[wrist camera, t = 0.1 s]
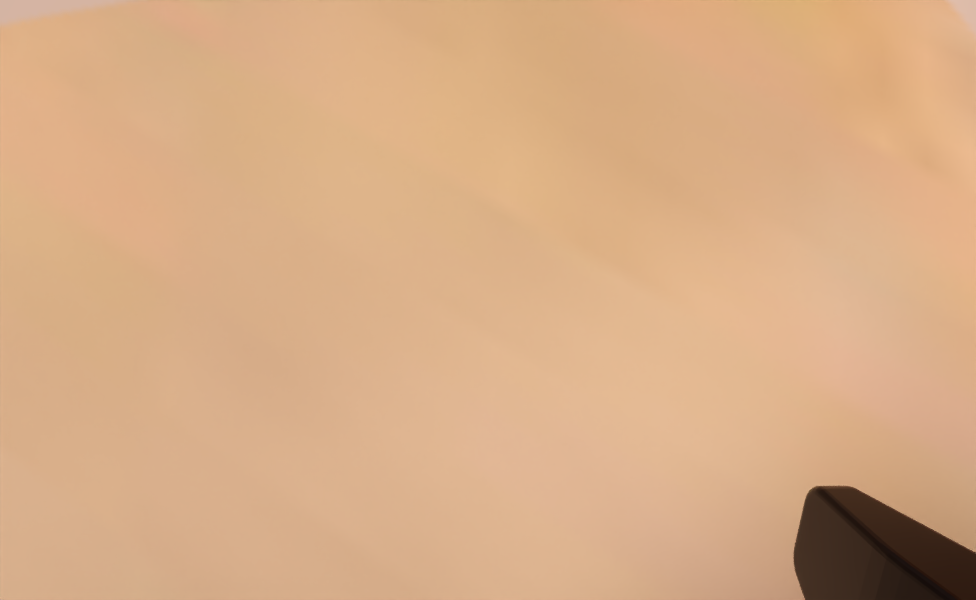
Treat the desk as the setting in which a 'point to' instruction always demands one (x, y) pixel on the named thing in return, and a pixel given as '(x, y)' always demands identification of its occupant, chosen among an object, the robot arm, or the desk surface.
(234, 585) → the desk surface
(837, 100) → the desk surface
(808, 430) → the desk surface
